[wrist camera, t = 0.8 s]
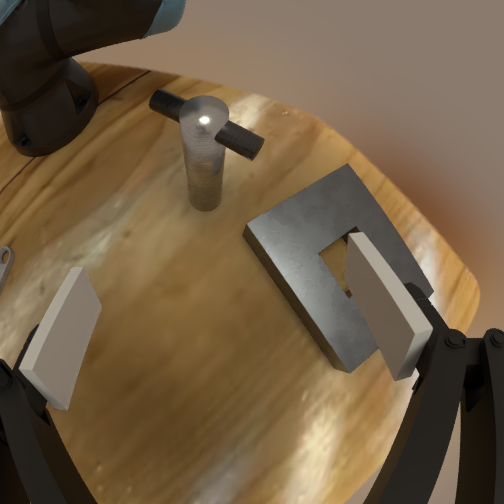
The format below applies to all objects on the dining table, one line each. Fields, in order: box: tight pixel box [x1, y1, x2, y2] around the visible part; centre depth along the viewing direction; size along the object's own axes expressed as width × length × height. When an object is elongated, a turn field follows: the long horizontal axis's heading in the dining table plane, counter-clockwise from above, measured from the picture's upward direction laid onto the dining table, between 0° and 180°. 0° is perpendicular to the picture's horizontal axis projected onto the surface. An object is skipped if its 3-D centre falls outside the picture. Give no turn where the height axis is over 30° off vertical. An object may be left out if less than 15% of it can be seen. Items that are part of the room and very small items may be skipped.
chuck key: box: [149, 89, 264, 211], centre depth 27 cm, size 9×4×15 cm, turn 60°
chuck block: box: [243, 163, 434, 373], centre depth 32 cm, size 18×14×4 cm
